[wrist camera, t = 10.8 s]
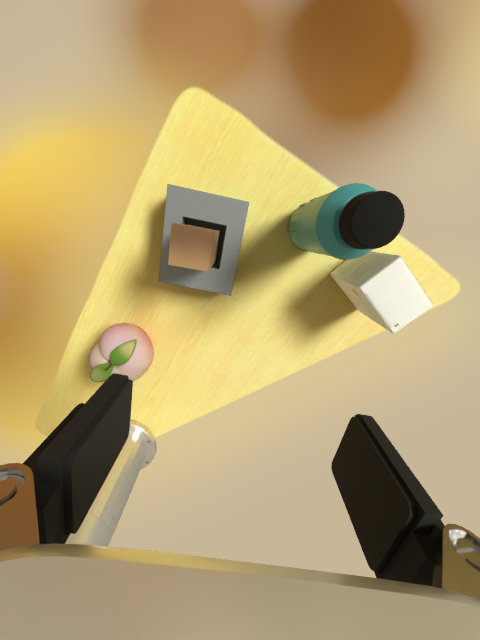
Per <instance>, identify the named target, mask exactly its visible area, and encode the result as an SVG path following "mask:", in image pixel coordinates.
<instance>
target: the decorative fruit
mask: <svg viewBox="0 0 480 640" xmlns="http://www.w3.org/2000/svg"><path fill="white" fill-rule="evenodd" d="M153 354H154V351H153V345H152V342H151V340H150V338H149V336H148V335H147V334H146V332H145V331H144V330H143V329H141V328H140V327H138V326H136V325H134V324H129V323H121V324H116V325H113V326H111V327H109V328H108V329H106V330H105V332H104V333H103V334H102V337H101V339H100V342H99V343H98V344H96V345H95V346H94V347H93V348H92V350H91V352H90V355H89V364H90V367H91V369H92V370H91V372H90V379H91V380H92V381H93V382H103V381H106V380H107V379H108V378H109V377H110V376H111V375H112V374H113V373H116V374H122V375H127V376H128V377H129V380H132V381H135V380H137V379H138V378H140V377H141V376H142V375H143V374H144V373H145V372H146V371H147V370H148V368H149V367H150V365H151V363H152V360H153Z"/></svg>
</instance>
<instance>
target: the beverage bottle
mask: <svg viewBox="0 0 480 640" xmlns="http://www.w3.org/2000/svg"><path fill="white" fill-rule="evenodd" d="M319 196H320V195H319ZM312 200H313V201H312ZM312 200H310V202H308V203H306V204H305V203H304V204H302V205H300V206H301V207H300V206H299V208H298V209H297V210H295V212H294V213H293V215H292V216H291V219H290V222H288V223H289V226H288V227H289V235H290V238H291V240H292V242H293V243H294V244H295V245H296V246H297V247H298V248H300V249H301V250H302V249H303V251H304V250H306V252H307V251H311V252H314V253H318V254H325V255H328V256H332V257H335V258H338V259H343V260H351V259H356V258H359V257H362V256H364V255H366V254H367V253H369V252H370V251H371V250H373V249H376V248H380V247H383V246H385V245H387V244H388V243H390V242H391V241H392V240H393V239H394V238H395V237H396V236H397V235H398V234H399V232H400V230H401V228H402V226H403V222H404V208H403V205H402V203H401V201H400V200H399V198H398V197H397V196H395V195H394V194H392V193H390V192H387V191H377V190H375V189H374V188H372V187H370V186H368V185H365V184H358V183H357V184H356V183H355V184H349V185H345V186H342V187H340V188H338V189H337V190H335V191H333V192H331V193H329V194H326V195H323V196H321V197H318V198H317V199H316V197H315V200H314V199H312ZM311 252H310V253H311ZM325 255H324V256H325Z"/></svg>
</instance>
